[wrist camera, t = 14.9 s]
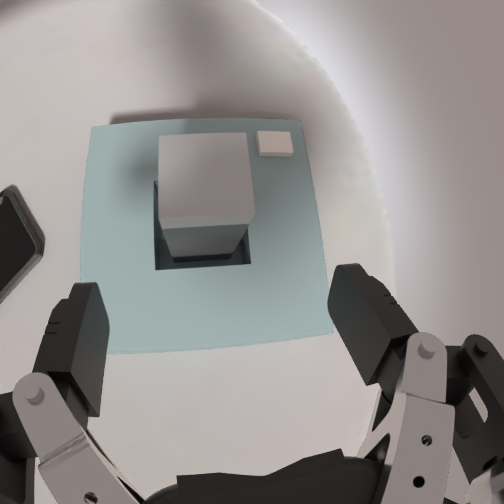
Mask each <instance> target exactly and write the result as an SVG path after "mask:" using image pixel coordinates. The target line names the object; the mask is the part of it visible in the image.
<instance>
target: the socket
mask: <svg viewBox="0 0 504 504" xmlns="http://www.w3.org/2000/svg"><path fill="white" fill-rule="evenodd" d="M200 133H246V137H247V145H248V153H249V162H250V170H251V179H252V187H253V196H254V204H255V215H254V217H253V218H252V220H251V222H250V224H249V225H248V227H247V229H246V231H245V233H244V234H243V236H242V238H241V240H240V241H239V243H238V245H237V247H236V249H235V250H234V252H233V254H232V256H231V258H230V259H224V260H209V261H195V262H181V263H174V262H173V259H172V256H171V253H170V250H169V248H168V245H167V242H166V239H165V236H164V233H163V230H162V227H161V224H160V221H159V209H158V159H159V136H163V135H178V134H200ZM84 282H96V283H97V284H98V286H99V289H100V292H101V296H102V299H103V302H104V305H105V309H106V312H107V315H108V318H109V325H110V334H109V341H108V347H107V354H130V353H156V352H175V351H190V350H203V349H215V348H226V347H236V346H246V345H255V344H263V343H271V342H279V341H286V340H294V339H300V338H307V337H314V336H320V335H326V334H332V333H334V331H333V321H332V319H331V317H330V315H329V312H328V307H327V300H328V296H329V286H328V279H327V271H326V263H325V256H324V249H323V242H322V236H321V229H320V223H319V217H318V210H317V204H316V199H315V193H314V187H313V182H312V176H311V171H310V165H309V160H308V155H307V150H306V145H305V140H304V135H303V130H302V126H301V121H300V120H289V119H269V118H188V119H168V120H153V121H141V122H130V123H120V124H111V125H103V126H96V127H92V130H91V136H90V143H89V149H88V157H87V164H86V173H85V182H84V193H83V205H82V220H81V246H80V283H84Z"/></svg>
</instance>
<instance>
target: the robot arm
mask: <svg viewBox="0 0 504 504" xmlns="http://www.w3.org/2000/svg"><path fill="white" fill-rule="evenodd" d="M327 307H328V312H329V315H330V317H331V319H332V321H333V323H334V325H335V327H336V328H337V330H338V332H339V334H340V336H341V338H342V340H343V342H344V344H345V346H346V347H347V349H348V351H349V353H350V355H351V357H352V359H353V361H354V363H355V365H356V367H357V369H358V371H359V373H360V375H361V377H362V379H363V380H364V382H365V384H366V386H368V385H372V384H375V383H379V385H380V387H381V388H380V390H379V391H378V395H377V399H376V403H375V406H374V410H373V414H372V418H371V421H370V425H369V428H368V432H367V435H366V438H365V440H364V442H363V444H362V446H361V447H360V449H359V451H358V454H357V456H356V457H348V456H345V457H344V455H343V452H342V450H341V448H340V449H337V450H333V451H330V452H326V453H322V454H318V455H314V456H310V457H306V458H303V459H301V460H299V461H297V462H295V463H293V464H291V465H289V466H286V467H284V468H282V469H280V470H278V471H276V472H273V473H271V474H269V475H266V476H251V475H238V474H227V473H209V474H196V475H179V476H177V484H175V485H171V486H169V487H166V488H164V489H161V490H160V491H158V492H156V493H154V494H153V495H151V496H150V497H149V498H147V499H145V498H144V497H143V496H142V495H141V494H140V493H139V492H138V490H137V489H136V488H135V487H134V486H133V485H132V484H131V483H130V482H129V481H128V480H127V479H126V478H125V476H124V475H123V474H122V473H121V472H120V471H119V469H118V468H117V467H116V466H115V464H114V463H113V462H112V461H111V459H110V458H109V457H108V456H107V454H106V453H105V452H104V450H103V449H102V448H101V446H100V445H99V443H98V442H97V441H96V439H95V438H94V436H93V435H92V434H91V432H90V431H89V429H88V428H87V423H88V417H99V416H100V404H101V394H102V385H103V376H104V368H105V361H106V354H107V347H108V341H109V334H110V325H109V318H108V315H107V312H106V309H105V305H104V302H103V299H102V296H101V292H100V289H99V286H98V284H97V283H96V282H84V283H75V284H74V285H73V287H72V290H71V292H70V295H69V298H68V299H61V301H60V302H59V303H58V304H57V305H56V306H55V308H54V309H53V310H52V313H51V315H50V318H49V321H48V325H47V327H46V329H45V335H43V338H42V341H41V344H40V348H39V351H38V354H37V357H36V361H35V364H34V368H33V371H32V373H30V374H28V375H26V376H24V377H23V378H21V379H20V380H19V381H18V383H17V384H16V386H15V388H14V390H13V392H9V393H5V394H0V504H34V473H35V457H39V459H40V462H41V464H39V465H38V469H39V472H40V474H41V476H42V478H43V480H44V481H45V483H46V485H47V487H48V488H49V490H50V491H51V493H52V495H53V496H54V498H55V500H56V501H57V503H58V504H457V503H456V502H453V501H451V500H449V499H447V498H445V497H444V495H445V490H446V485H447V478H448V473H449V466H450V459H451V451H452V445H453V448H454V450H455V452H456V454H457V456H458V458H459V461H460V463H461V465H462V468H463V470H464V472H465V474H466V477H467V479H468V482H469V484H470V488H469V492H468V493H467V494H466V495H465V498H464V502H465V504H504V360H503V359H502V357H501V356H500V354H499V353H498V351H497V350H496V349H495V347H494V346H493V344H492V343H491V342H490V341H489V340H487V339H486V338H485V337H483V336H480V335H476V334H473V335H470V336H468V337H467V338H466V340H465V341H464V343H463V344H462V346H444V344H443V343H442V342H441V340H440V339H438V338H437V337H436V336H434V335H432V334H429V333H424V332H419V331H418V330H417V328H416V327H415V326H414V324H413V323H412V321H411V320H410V319H409V317H408V316H407V315H406V313H405V312H404V311H403V309H402V308H401V307H400V305H399V304H397V301H396V300H395V299H394V297H393V296H391V293H390V292H389V291H388V289H387V288H386V287H385V286H384V284H383V283H381V282H380V281H378V280H377V279H376V278H374V277H373V276H369V275H368V274H367V273H366V272H365V270H364V269H363V268H362V266H361V265H360V264H358V263H354V264H343V265H338V266H337V267H336V268H335V271H334V275H333V280H332V284H331V288H330V292H329V296H328V300H327ZM474 387H475V389H476V390H477V392H478V394H479V395H480V397H481V399H482V400H483V402H484V404H485V405H486V408H487V411H488V417H487V420H486V422H485V423H484V422H483V420H482V418H481V416H480V414H479V412H478V410H477V409H476V407H475V405H474V403H473V401H472V400H471V398H470V396H469V393H470V392H471V391H472V390H473V388H474Z"/></svg>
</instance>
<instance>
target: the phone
mask: <svg viewBox="0 0 504 504" xmlns="http://www.w3.org/2000/svg"><path fill="white" fill-rule="evenodd" d="M43 254H44V245H43V243H42V241H41V239H40V238H39V236H38V234H37V233H36V231H35V229H34V228H33V226H32V224H31V222H30V221H29V219H28V217H27V215H26V214H25V212H24V210H23V208H22V206H21V204H20V203H19V201H18V199H17V197H16V195H15V194H14V193H12V192H11V191H10V190H4V191H2V192H1V193H0V304H1V303H2V302H3V300H4V299H5V298H6V297H7V296H8V295H9V294H10V293H11V291H12V290H13V289H14V288H15V287H16V286H17V285H18V284H19V283H20V282H21V281H22V279H23V278H24V277H25V276H26V275H27V274H28V273H29V272H30V271H31V270H32V269H33V268H34V267H35V266H36V265H37V264H38V263H39V262H40V260H41V259H42V257H43Z"/></svg>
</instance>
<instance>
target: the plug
mask: <svg viewBox="0 0 504 504" xmlns="http://www.w3.org/2000/svg"><path fill="white" fill-rule="evenodd" d="M158 209H159V221H160V224H161V227H162V230H163V233H164V236H165V239H166V242H167V245H168V248H169V250H170V253H171V256H172V259H173V262H174V263H181V262H195V261H209V260H224V259H230V258H231V256H232V254H233V252H234V250H235V249H236V247H237V245H238V243H239V241H240V240H241V238H242V236H243V234H244V233H245V231H246V229H247V227H248V225H249V224H250V222H251V220H252V218H253V217H254V215H255V204H254V196H253V187H252V179H251V170H250V162H249V153H248V145H247V137H246V133H200V134H178V135H163V136H159V159H158Z"/></svg>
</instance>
